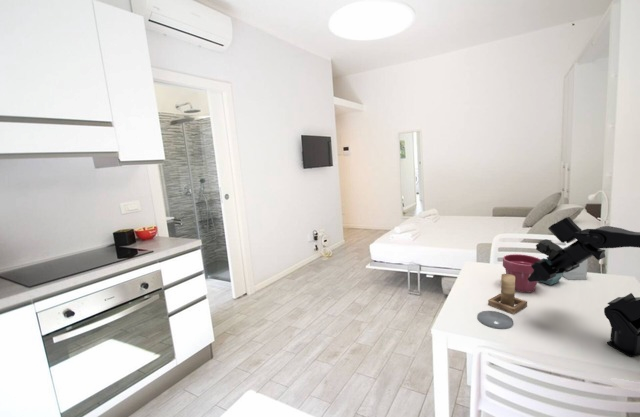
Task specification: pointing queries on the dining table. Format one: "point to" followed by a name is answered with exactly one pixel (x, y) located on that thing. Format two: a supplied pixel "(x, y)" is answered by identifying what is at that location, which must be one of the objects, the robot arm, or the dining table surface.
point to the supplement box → (577, 272)
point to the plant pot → (520, 270)
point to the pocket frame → (513, 310)
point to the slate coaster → (495, 319)
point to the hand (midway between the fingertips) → (536, 277)
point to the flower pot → (555, 279)
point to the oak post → (507, 289)
